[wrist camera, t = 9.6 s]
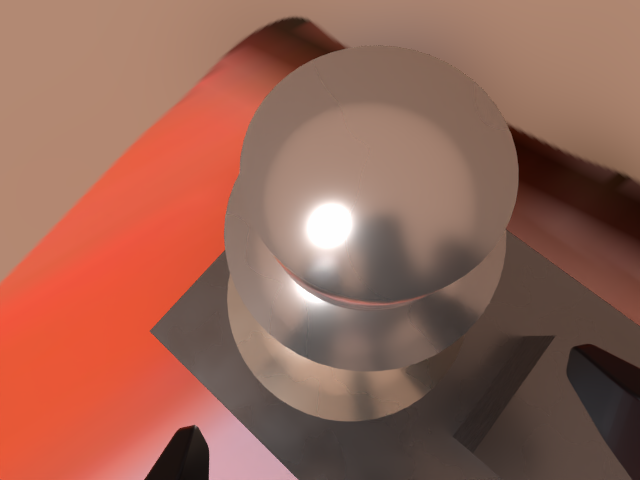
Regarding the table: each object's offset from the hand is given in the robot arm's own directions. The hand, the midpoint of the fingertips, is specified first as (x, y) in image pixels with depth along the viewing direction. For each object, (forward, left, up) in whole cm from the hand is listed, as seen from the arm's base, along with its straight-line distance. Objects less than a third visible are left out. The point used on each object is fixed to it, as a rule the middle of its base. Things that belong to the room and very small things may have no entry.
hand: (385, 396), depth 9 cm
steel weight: (+3, -2, -8) cm, 8 cm away
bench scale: (-1, -2, -12) cm, 12 cm away
